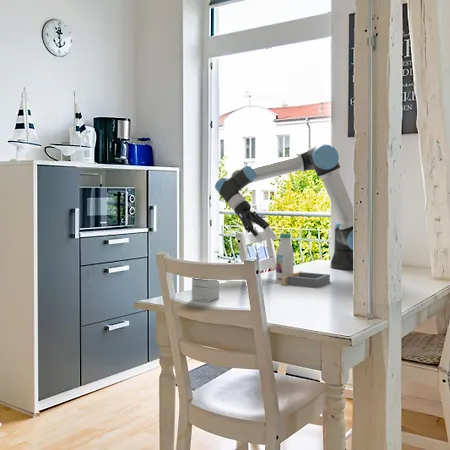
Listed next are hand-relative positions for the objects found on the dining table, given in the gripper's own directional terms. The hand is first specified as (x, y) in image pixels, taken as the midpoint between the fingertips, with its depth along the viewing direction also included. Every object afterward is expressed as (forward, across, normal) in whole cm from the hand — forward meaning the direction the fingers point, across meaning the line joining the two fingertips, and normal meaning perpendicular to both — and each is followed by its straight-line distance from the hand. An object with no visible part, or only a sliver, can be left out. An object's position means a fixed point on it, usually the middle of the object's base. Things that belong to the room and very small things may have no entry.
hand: (268, 239), depth 251 cm
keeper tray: (+27, +5, +3) cm, 27 cm away
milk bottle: (+18, -1, -6) cm, 19 cm away
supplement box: (+14, +57, -11) cm, 60 cm away
